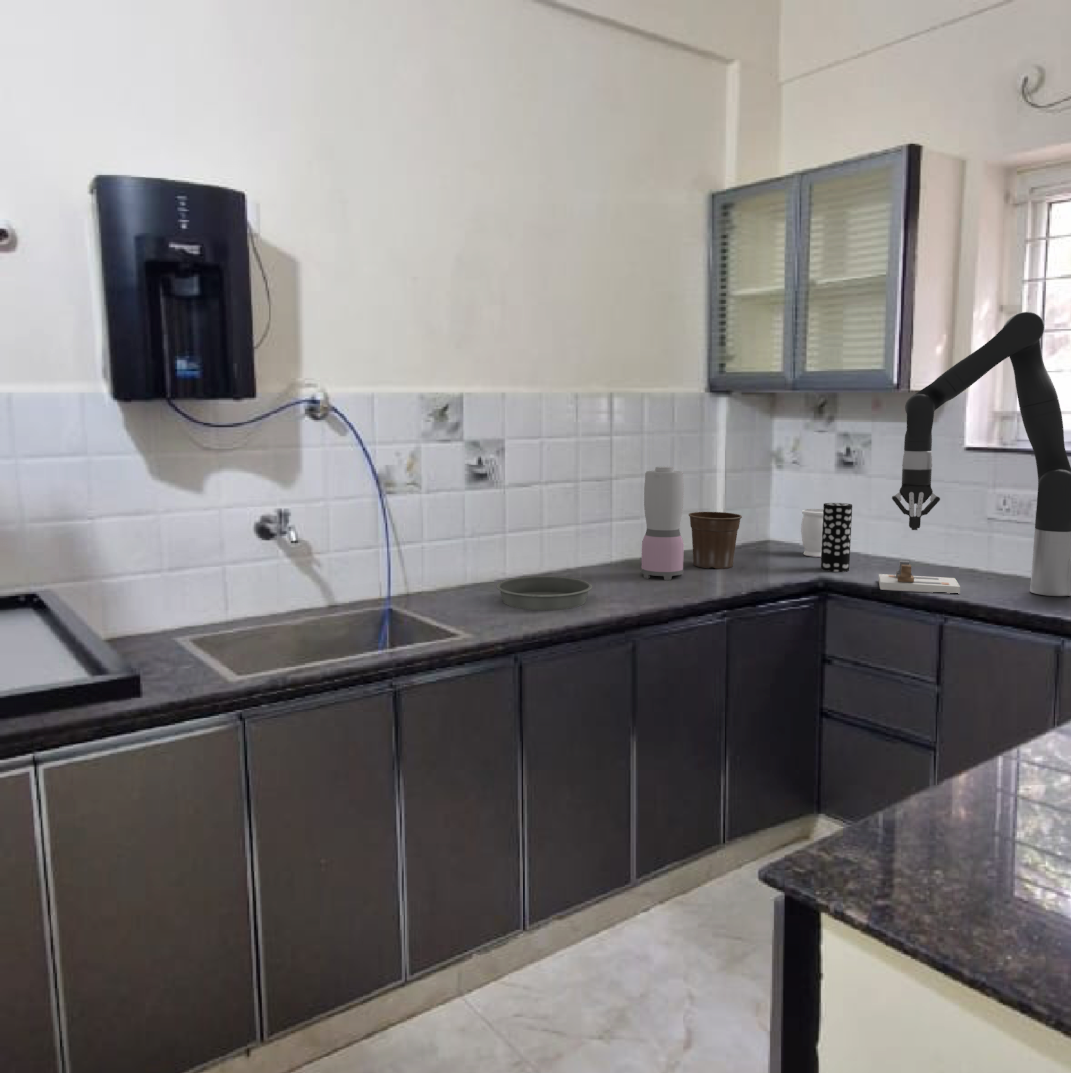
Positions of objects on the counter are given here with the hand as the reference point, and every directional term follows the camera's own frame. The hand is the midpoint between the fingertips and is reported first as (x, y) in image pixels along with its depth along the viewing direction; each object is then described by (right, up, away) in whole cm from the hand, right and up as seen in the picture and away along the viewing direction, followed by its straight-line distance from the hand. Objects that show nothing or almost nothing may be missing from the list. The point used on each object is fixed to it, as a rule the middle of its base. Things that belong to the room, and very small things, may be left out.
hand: (914, 529), depth 265 cm
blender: (-68, -14, +16) cm, 71 cm away
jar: (-12, -8, +52) cm, 54 cm away
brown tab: (-4, -14, -4) cm, 15 cm away
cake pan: (-103, -19, -20) cm, 107 cm away
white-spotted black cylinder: (-14, -12, +26) cm, 32 cm away
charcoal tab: (-2, -13, +3) cm, 13 cm away
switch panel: (0, -16, -1) cm, 16 cm away
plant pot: (-50, -11, +32) cm, 60 cm away
